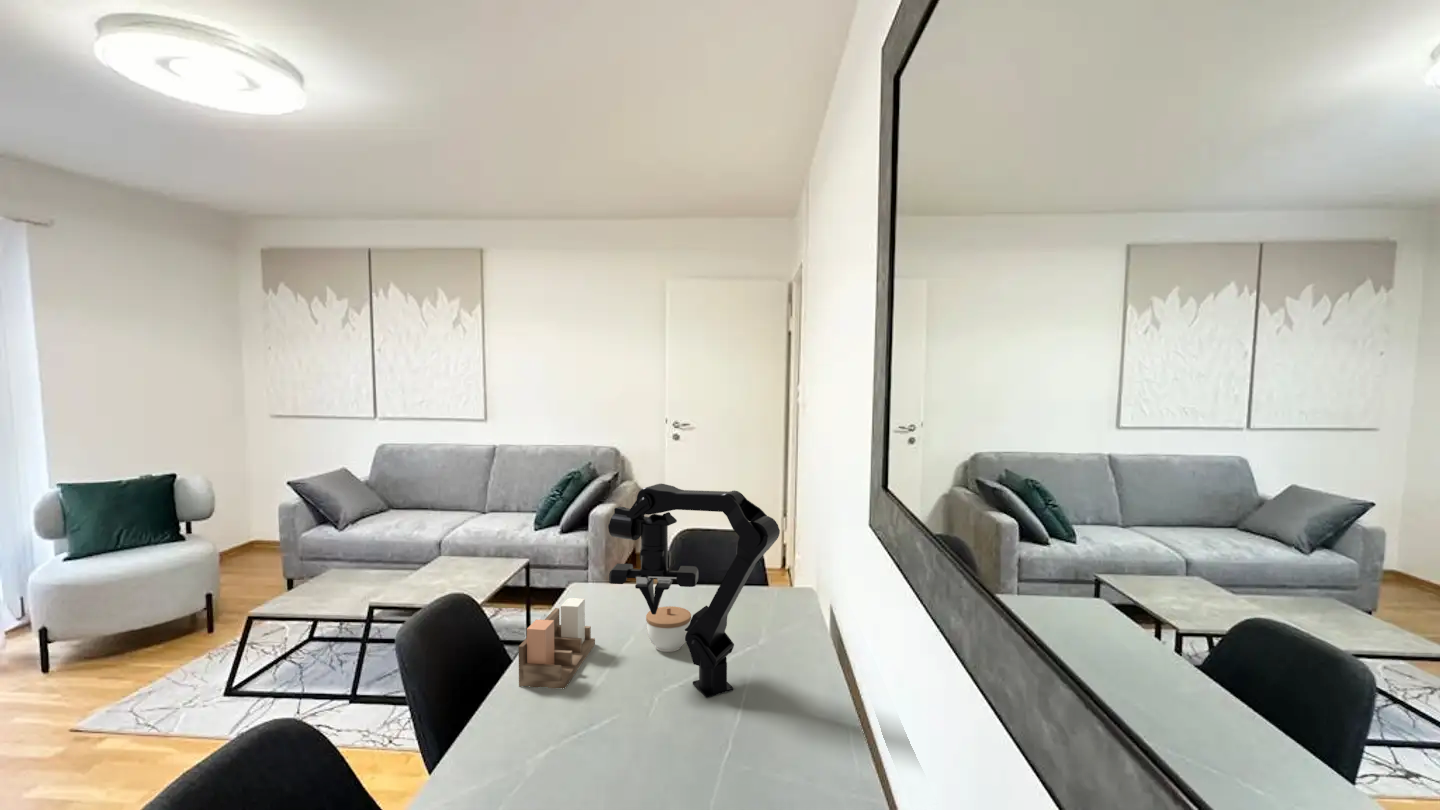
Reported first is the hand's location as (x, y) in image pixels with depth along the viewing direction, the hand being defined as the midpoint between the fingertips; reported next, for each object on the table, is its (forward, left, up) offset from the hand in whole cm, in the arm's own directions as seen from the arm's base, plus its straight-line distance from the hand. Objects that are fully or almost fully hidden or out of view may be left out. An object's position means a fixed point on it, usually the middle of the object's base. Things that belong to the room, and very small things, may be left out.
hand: (654, 613), depth 131 cm
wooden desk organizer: (+14, +17, -13) cm, 25 cm away
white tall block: (+18, +13, -11) cm, 25 cm away
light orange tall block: (+9, +22, -11) cm, 27 cm away
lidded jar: (+10, -8, -13) cm, 18 cm away
